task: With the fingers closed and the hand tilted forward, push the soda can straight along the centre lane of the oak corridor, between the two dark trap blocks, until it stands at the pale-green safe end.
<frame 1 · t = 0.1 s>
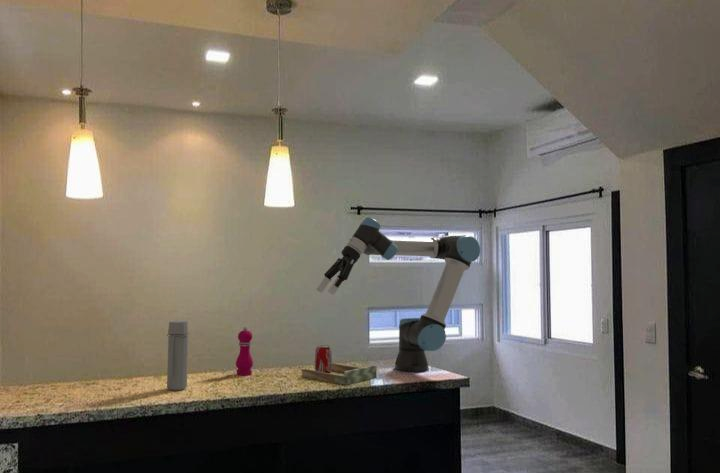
hand: (324, 292, 250), 36 cm above the worktop, tool tilted 35°, fingers open, 13 cm apart
trap box: (339, 376, 259), on the worktop
water bottle: (175, 390, 229), on the worktop
soda can: (322, 374, 264), resting in trap box
pepper mill: (244, 374, 261), on the worktop
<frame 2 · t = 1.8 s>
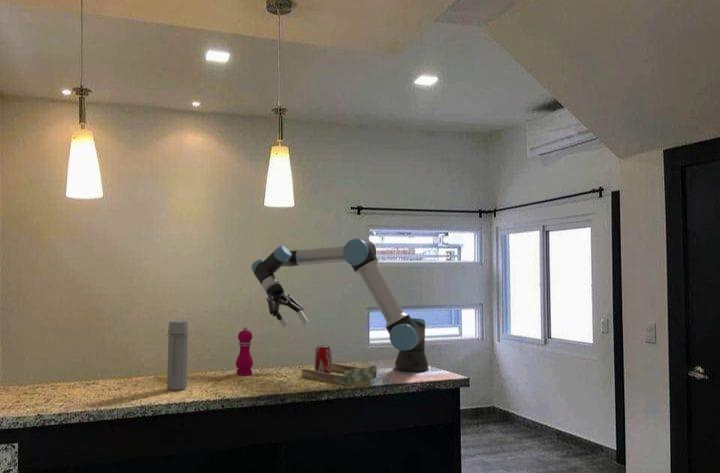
hand: (296, 324, 274), 20 cm above the worktop, tool tilted 45°, fingers open, 13 cm apart
nothing on the worktop moved.
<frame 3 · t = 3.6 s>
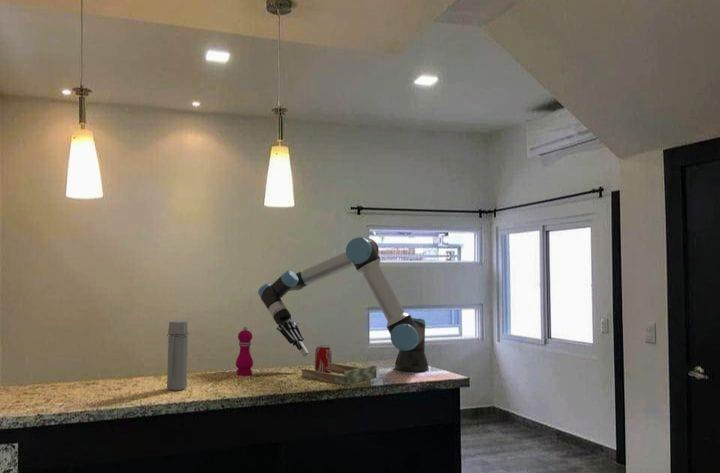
hand: (306, 354, 270), 7 cm above the worktop, tool tilted 45°, fingers closed
nothing on the worktop moved.
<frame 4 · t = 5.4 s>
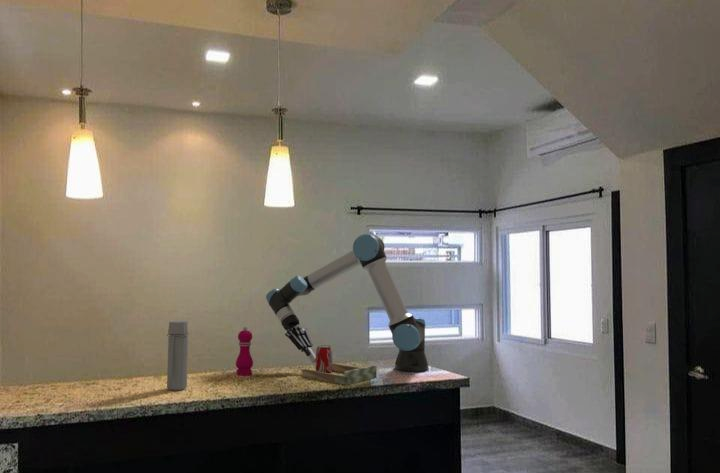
hand: (314, 360, 267), 5 cm above the worktop, tool tilted 45°, fingers closed
soda can: (323, 374, 264), resting in trap box, touching gripper
everything else where it was.
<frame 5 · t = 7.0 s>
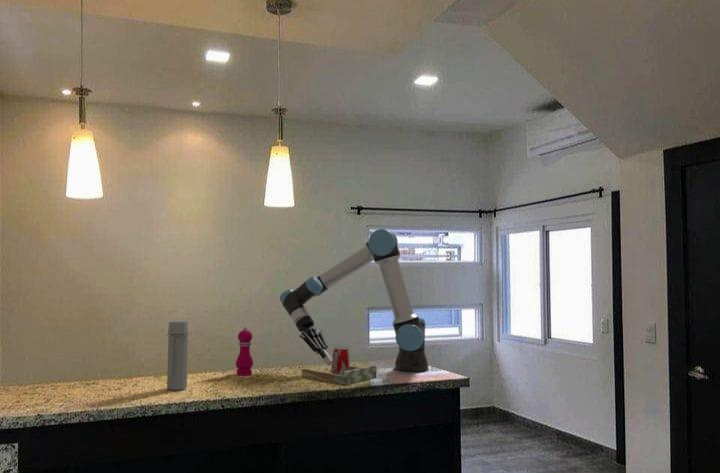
hand: (330, 363, 261), 5 cm above the worktop, tool tilted 45°, fingers closed
soda can: (340, 377, 259), resting in trap box, touching gripper
everything else where it was.
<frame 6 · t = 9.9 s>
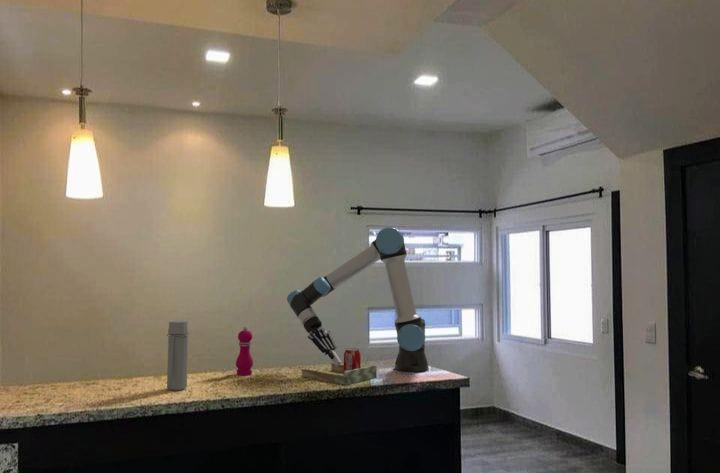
hand: (338, 364, 259), 5 cm above the worktop, tool tilted 45°, fingers closed
soda can: (351, 378, 257), resting in trap box
everything else where it was.
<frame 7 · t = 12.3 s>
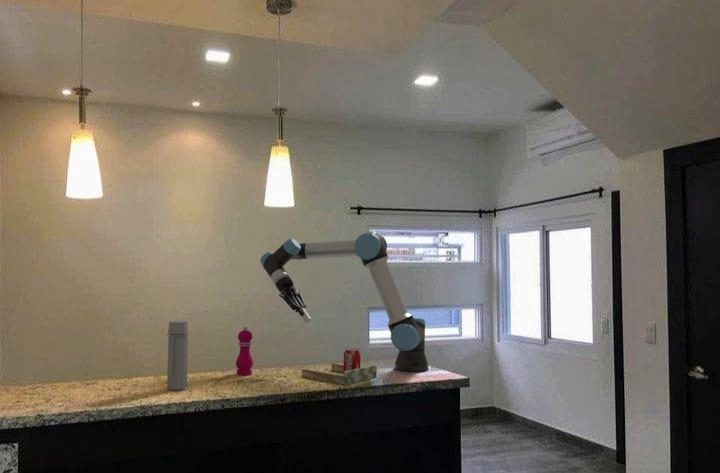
hand: (308, 320, 270), 22 cm above the worktop, tool tilted 45°, fingers closed
nothing on the worktop moved.
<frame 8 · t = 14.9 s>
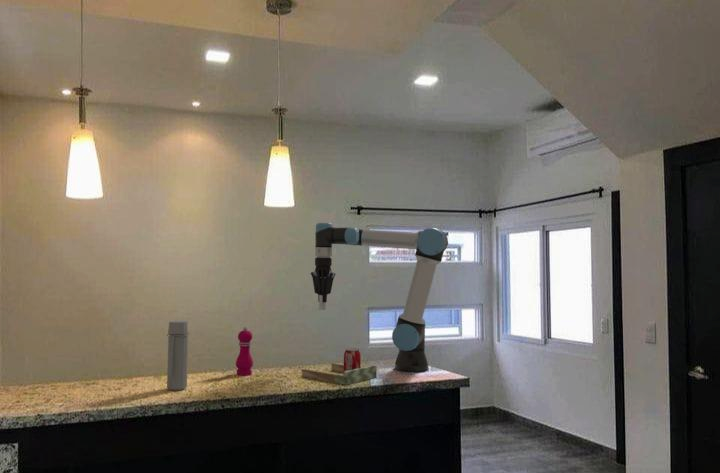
hand: (322, 309, 278), 26 cm above the worktop, tool pointing down, fingers closed
nothing on the worktop moved.
at the end: soda can inside the target area on the trap box (2.3 cm from its centre), point 0.0 cm above the trap box's base; soda can tilted 0° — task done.
